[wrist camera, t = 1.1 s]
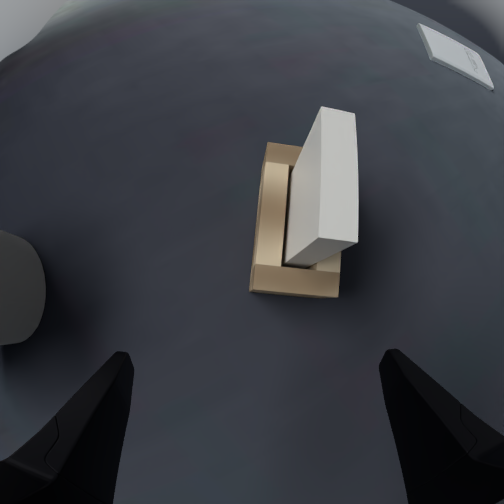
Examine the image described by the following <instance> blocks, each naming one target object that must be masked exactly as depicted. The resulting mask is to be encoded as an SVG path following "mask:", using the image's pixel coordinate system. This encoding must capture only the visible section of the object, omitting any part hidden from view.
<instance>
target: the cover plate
mask: <svg viewBox="0 0 504 504" xmlns="http://www.w3.org/2000/svg"><path fill="white" fill-rule="evenodd" d="M356 243H358V158H357V138H356V123H355V114H354V113H349V112H345V111H341V110H336V109H331V108H326V107H321V108H320V110H319V113H318V115H317V117H316V119H315V122H314V124H313V126H312V128H311V131H310V133H309V135H308V137H307V140H306V142H305V144H304V146H303V149H302V151H301V153H300V155H299V158H298V160H297V162H296V164H295V167H294V169H293V171H292V173H291V175H290V178H289V180H288V184H287V198H286V211H285V224H284V236H283V248H282V259H281V267H290V268H299V269H305V268H307V267H309V266H311V265H313V264H315V263H317V262H319V261H321V260H323V259H325V258H328V257H330V256H332V255H334V254H336V253H338V252H340V251H342V250H344V249H346V248H348V247H350V246H352V245H354V244H356Z"/></svg>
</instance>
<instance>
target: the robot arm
mask: <svg viewBox="0 0 504 504" xmlns="http://www.w3.org/2000/svg"><path fill="white" fill-rule="evenodd" d="M379 372H380V377H381V383H382V389H383V395H384V400H385V405H386V409H387V413H388V417H389V420H390V424H391V428H392V432H393V436H394V439H395V443H396V448H397V452H398V456H399V460H400V465H401V469H402V473H403V478H404V483H405V488H406V493H407V499H408V504H504V436H503V435H502V434H500V433H499V432H497V431H496V430H495V429H493V428H492V427H490V426H489V425H488V424H486V423H485V422H483V421H482V420H481V419H479V418H478V417H477V416H475V415H474V414H473V413H472V412H471V411H469V410H468V409H467V408H466V407H465V406H464V405H462V404H460V402H459V401H458V400H457V399H456V398H454V397H453V396H452V395H451V394H450V393H449V392H447V391H446V390H445V389H444V388H443V387H442V386H441V385H439V384H438V383H437V382H436V381H435V380H434V379H432V378H431V377H430V376H429V375H428V374H427V373H425V372H424V371H423V370H422V369H421V368H420V367H418V366H417V365H416V364H415V363H414V362H413V361H411V360H410V359H409V358H408V357H407V356H406V355H404V354H403V353H402V352H401V351H400V350H398V349H388V350H387V351H386V352H385V354H384V356H383V358H382V360H381V362H380V364H379ZM133 378H134V367H133V364H132V361H131V359H130V356H129V354H128V353H127V352H120V351H117V352H115V353H114V354H113V355H112V356H111V357H110V358H109V359H108V360H107V361H106V362H105V364H104V365H103V366H102V367H101V368H100V369H99V370H98V371H97V372H96V373H95V374H94V375H93V376H92V377H91V378H90V379H89V380H88V381H87V382H86V383H85V384H84V385H83V386H82V387H81V388H80V389H79V390H78V391H77V392H76V393H75V394H74V396H73V397H72V398H71V399H70V400H69V401H68V402H67V403H66V404H65V405H64V406H63V407H62V408H61V409H60V410H59V411H58V412H57V413H56V416H54V417H53V418H52V419H51V420H50V421H49V422H48V423H47V424H46V425H45V426H44V427H43V428H42V429H41V430H40V431H39V432H38V433H37V434H35V435H34V436H33V437H32V438H31V439H30V440H29V441H27V442H26V443H25V444H24V445H23V446H22V447H20V448H19V449H18V450H17V451H16V452H14V453H13V454H12V455H11V456H9V457H8V458H6V459H4V460H2V461H0V504H113V499H114V492H115V486H116V480H117V474H118V468H119V462H120V457H121V451H122V446H123V441H124V436H125V431H126V427H127V422H128V417H129V412H130V405H131V395H132V386H133Z"/></svg>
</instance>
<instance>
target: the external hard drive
mask: <svg viewBox="0 0 504 504" xmlns="http://www.w3.org/2000/svg"><path fill="white" fill-rule="evenodd" d="M416 27H417V29H418V31H419V34H420V36H421V38H422V40H423V43H424V45H425V47H426V50H427V52H428V55H429V58H430V60H432V61H434V62H436V63H439V64H441V65H443V66H445V67H447V68H449V69H451V70H453V71H456V72H458V73H460V74H461V75H463V76H465V77H467V78H469V79H471V80H473V81H475V82H477V83H478V84H480V85H482V86H484V87H485V88H487V89H489V90H490V91H491V90H493V89H494V86H493V84H492V81H491V79H490V77H489V75H488V72H487V70H486V68H485V66H484V64H483V62H482V60H481V58H480V56H479V54H478V53H476V52H474V51H473V50H471V49H469V48H467V47H466V46H464V45H462V44H460V43H458V42H457V41H455V40H453V39H451V38H449V37H447V36H445V35H443V34H441V33H439V32H437V31H435V30H433V29H431V28H429V27H426V26H424V25H422V24H420V23H418V25H417V26H416Z"/></svg>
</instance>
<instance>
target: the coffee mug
mask: <svg viewBox="0 0 504 504" xmlns="http://www.w3.org/2000/svg"><path fill="white" fill-rule="evenodd" d="M45 298H46V283H45V276H44V271H43V267H42V263H41V260H40V258H39V256H38V254H37V252H36V251H35V249H34V248H33V247H32V245H31V244H30V243H29V242H27V241H26V240H24V239H23V238H20V237H18V236H15V235H12V234H10V233H7V232H4V231H2V230H0V345H7V344H14V343H20V342H23V341H25V340H26V339H28V338H29V337H30V336H31V335H32V334H33V333H34V331H35V330H36V328H37V327H38V325H39V323H40V320H41V318H42V314H43V311H44V306H45Z"/></svg>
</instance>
